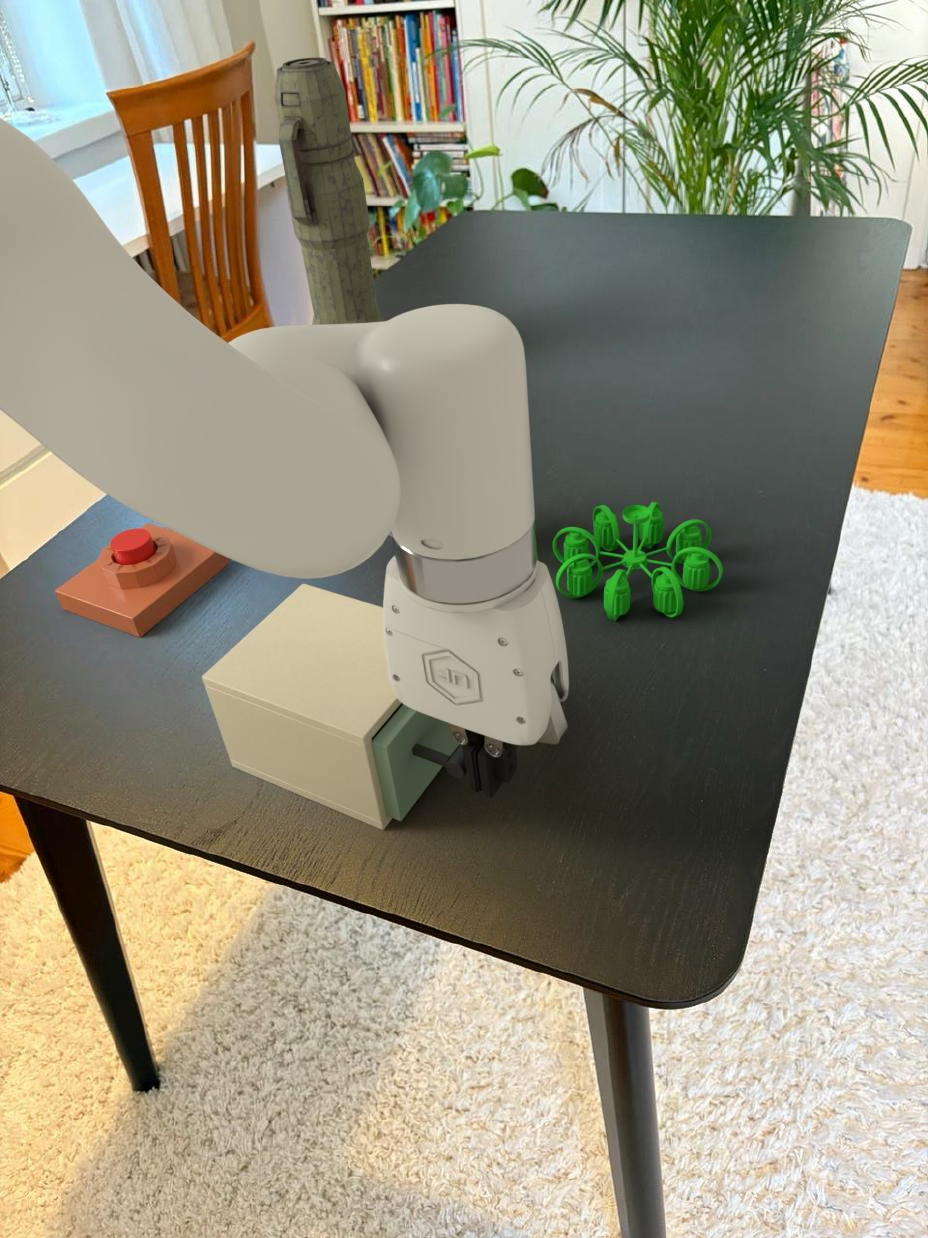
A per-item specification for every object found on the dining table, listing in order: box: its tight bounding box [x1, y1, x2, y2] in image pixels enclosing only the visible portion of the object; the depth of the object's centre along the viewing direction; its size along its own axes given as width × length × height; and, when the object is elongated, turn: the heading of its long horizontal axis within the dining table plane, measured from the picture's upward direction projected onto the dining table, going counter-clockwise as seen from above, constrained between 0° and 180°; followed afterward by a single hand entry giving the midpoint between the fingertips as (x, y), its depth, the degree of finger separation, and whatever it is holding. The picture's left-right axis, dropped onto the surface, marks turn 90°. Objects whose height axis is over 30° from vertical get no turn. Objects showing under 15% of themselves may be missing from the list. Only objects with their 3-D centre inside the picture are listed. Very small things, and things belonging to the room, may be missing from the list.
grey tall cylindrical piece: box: [274, 56, 385, 325], centre depth 114 cm, size 9×12×35 cm
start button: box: [109, 527, 156, 565], centre depth 89 cm, size 4×4×2 cm
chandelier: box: [552, 501, 723, 621], centre depth 84 cm, size 15×15×7 cm
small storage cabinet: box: [201, 583, 402, 831], centre depth 70 cm, size 14×12×9 cm
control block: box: [54, 522, 230, 638], centre depth 90 cm, size 12×10×4 cm
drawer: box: [371, 703, 467, 822], centre depth 69 cm, size 17×10×7 cm, turn 60°
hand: (492, 778), depth 63 cm, fingers closed
